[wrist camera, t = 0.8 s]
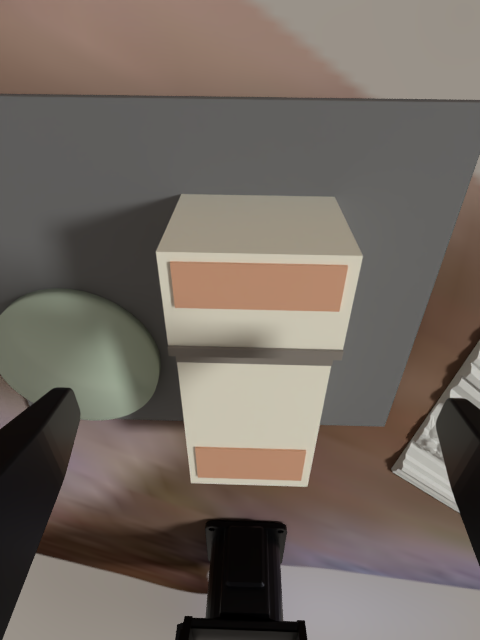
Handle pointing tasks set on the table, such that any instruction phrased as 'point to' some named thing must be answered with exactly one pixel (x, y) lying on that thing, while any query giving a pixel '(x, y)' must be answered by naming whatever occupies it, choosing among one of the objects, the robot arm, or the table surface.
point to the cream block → (257, 277)
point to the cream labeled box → (251, 418)
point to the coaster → (78, 351)
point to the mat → (236, 179)
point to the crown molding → (424, 448)
